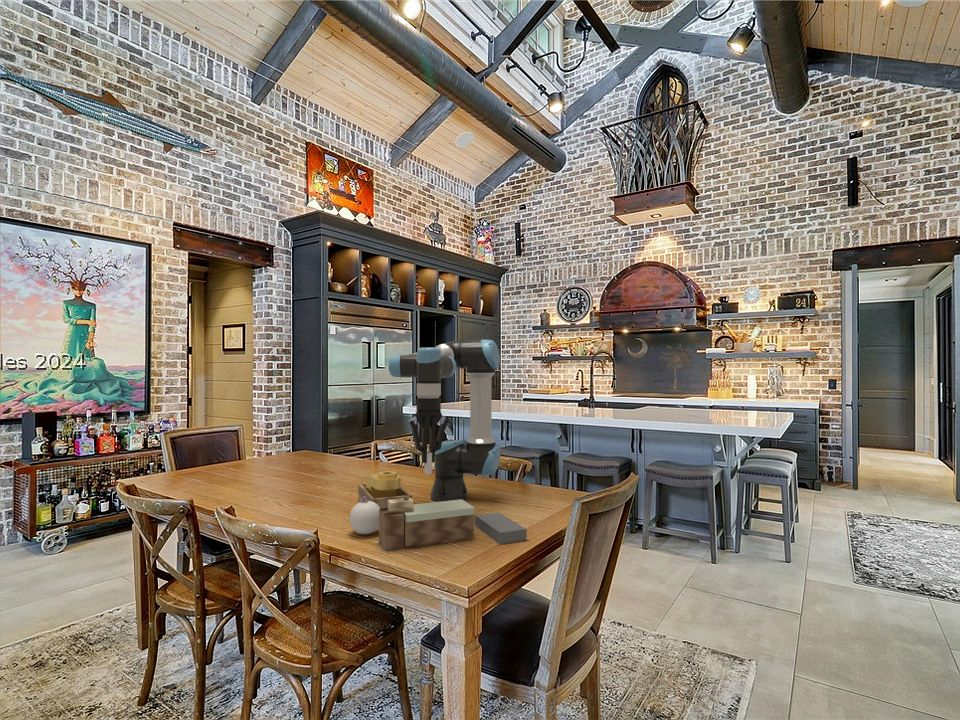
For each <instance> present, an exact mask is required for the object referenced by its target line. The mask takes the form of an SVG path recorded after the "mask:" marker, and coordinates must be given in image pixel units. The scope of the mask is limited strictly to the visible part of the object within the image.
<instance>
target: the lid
mask: <svg viewBox="0 0 960 720" xmlns="http://www.w3.org/2000/svg"><path fill="white" fill-rule="evenodd" d="M475 510H476V507H474V506H473V505H471V504H470V503H468V502H467V501H465V500H462V499H460V500H451V501H442V502H439V501H434V502H425V503H423V502H422V503H414V511H407V512H403V514H404V520H405V521H406V522H415V521H423V520H431V519H440V518H448V517H456V516H464V515H473V514H474V515H476V514H475V513H476V511H475Z"/></svg>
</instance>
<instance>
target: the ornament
mask: <svg viewBox="0 0 960 720" xmlns="http://www.w3.org/2000/svg"><path fill="white" fill-rule="evenodd" d="M364 500H365V501H364ZM379 510H380V507H379V506H378V505H377V504H376V503H374V502H372V501H368V500H367V498H366V496H363V498H362V501H361V502H360V503H358V502H357V503H355V505H354V506H353V507H352V509H351V511H350V514H349V522H350V523H349V524H350V526H351V528H352V530H353V531H354V532H355V533H358V534H360V535H371V534H373V533H375V532H376V531H377V530H379Z"/></svg>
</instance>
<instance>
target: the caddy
mask: <svg viewBox="0 0 960 720" xmlns="http://www.w3.org/2000/svg"><path fill="white" fill-rule="evenodd" d="M366 484H367V482H366V483H364V482H363V483H359V484H358V486H357V487H358V491H357V492H358V494H357V495H358V496H357V498H358V502H357V504H358V503H360V502H361V501H362V498H363V496H366V498H367V500H368V501H372V502H374V503H376V504H377V505H378V506H379V507H380V508H382V507H388V500H392V499H402V498H404V496H409V498H411V499H412V500H413V495H412V494H411V493H410V492H409V491H407V490H406V489H405V488H403V486H401V485H400V488H398V489H395V497H385V498H375V499H374V498H373V497H372V496H371V495H370V493H369V492H368V491H367V490H366V489H365V488H366ZM364 501H365V500H364Z"/></svg>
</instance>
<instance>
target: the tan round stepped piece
mask: <svg viewBox="0 0 960 720" xmlns="http://www.w3.org/2000/svg"><path fill="white" fill-rule="evenodd" d="M366 483H367V484H366V488H365V489H366V490H367V491H368V492H369V493H370V495H371V496H372V497H373V498H374V499H375V498H385V497H395V489H398V488H400V486H401V476H400V475H398V472H396V471H392V470H387V471H386V470H385V471H379V472H378V473H373V474H368V476H367V480H366Z"/></svg>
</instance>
